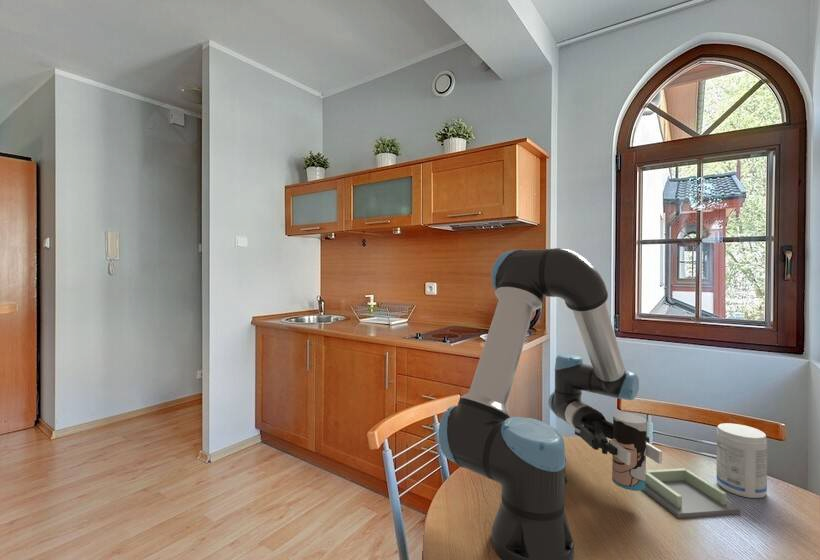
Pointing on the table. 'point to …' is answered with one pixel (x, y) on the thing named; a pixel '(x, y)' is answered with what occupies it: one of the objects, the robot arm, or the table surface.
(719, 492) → the holder
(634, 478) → the white printed cylinder
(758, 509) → the table surface
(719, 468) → the supplement tub
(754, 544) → the table surface
